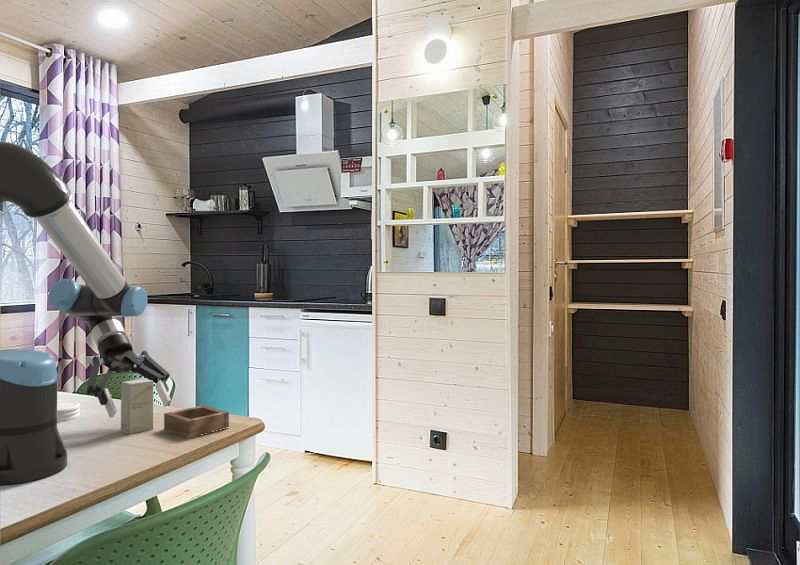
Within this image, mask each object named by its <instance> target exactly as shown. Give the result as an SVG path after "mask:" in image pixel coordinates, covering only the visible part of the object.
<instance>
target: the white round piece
mask: <svg viewBox="0 0 800 565" xmlns="http://www.w3.org/2000/svg"><path fill="white" fill-rule="evenodd" d="M80 407H81V403H79V402H77V401H71V400H70V401H57V423H60V422H59V421H64V422H67V421H66V420H69V421H71V420H70V419H73V420H75V419H74V418H76V417H78V416H79V417H80V416H81V408H80ZM79 417H78V418H79ZM76 419H77V418H76Z"/></svg>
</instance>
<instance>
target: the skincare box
mask: <svg viewBox="0 0 800 565" xmlns="http://www.w3.org/2000/svg"><path fill="white" fill-rule="evenodd" d="M120 384H121V385H120V390H121V391H120V398H121V399H120V431H121V432H124V433H126V434H129V435H130V434H136V433H140V431H141V432H145V430H146V431H150V429H151V430H153V429H154V382H153V380H149V379H147V378H140V379H133V380H126V381H120Z"/></svg>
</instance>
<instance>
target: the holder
mask: <svg viewBox="0 0 800 565" xmlns="http://www.w3.org/2000/svg"><path fill="white" fill-rule="evenodd" d="M163 415H164V416H163V420H164V421H163V424H164V425H163V430H165V431H168V432H171V433H172V434H173V433H174V434H175V433H176V434H175V435H178V434H179V436H181V435H182V436H181V437H184V436H185V437H184V438H186V437H188V438H187V439H191V438H190V437H192V438H195V437H194V436H196V437H199V436H198V435H200V436H202V435H201V434H204V435H206V434H205V433H208V434H210V433H209V432H212V431H216V430H220V429H223V428H226V427H229V428H230V426H229V425H230V421H229V420H230V418H229V417H230V413H229V412H228V411H225V410H222V409H217V408H214V407H211V406H207V405H204V404H202V405H199V406H194V407H193V406H192V407H189V408H185V409H179V410H174V411H170V412H165V413H164V414H163ZM220 431H221V430H220ZM216 432H217V431H216ZM212 433H213V432H212Z"/></svg>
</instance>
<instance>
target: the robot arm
mask: <svg viewBox="0 0 800 565" xmlns="http://www.w3.org/2000/svg"><path fill="white" fill-rule="evenodd" d="M72 196H73V194H72V192H71V190H70V189H69V187H68V185H67V184H66V183H65V182H64V180H63V179H62V178H61V176H60V175H59V174H58V173H57V172H56V171H55V170H54V169H53V168H52V167H51V166H50V165H49V164H48V163H47V162H45V161H44V160H43V159H42V158H41V157H40V156H38V155H37V154H36V153H34V152H32V151H31V150H29V149H28V148H25V147H23V146H21V145H18V144H17V143H12V142H7V141H0V216H2V215H3V214H4V203H5V202H6V203H7V202H9V203H11V204H13V205H15V206H17V207H18V208H20V210H21V212H23V214H24V215H26V217H28V218H32V219H35V220H36V221H37V222H38V224H39V225H40V226H41V227H42V229H43V231H45V234H47V235H48V237H49V238H50V239H51V240H52V242H53V243H54V244H55V246H56V247H57V248H58V249H59V250H60V252H61V254H62V255H63V256H64V257H65V258H66V260H67V261H68V262H69V264H70V265H71V267H72V268H73V269H74V270H75V272H76V273H77V274H78V275H79V277H80V278H81V280H82V281H83V282H84V284H80V283H79V282H77V281H75V280H72V279H70V278H62V279H60V280H58V281H56V282H55V283H54V284H53V285H52V286H51V287H50V289H49V292H48V301H49V303H50V305H52V306H53V307H55V308H56V309H58V311H60V312H63V313H65V314H67V315H70V316H71V317H74V318H76V319H78V320H79V321H81V322H84V323H85V324H86V325H87V327H88V329H89V331H90V334H91V336H92V338H93V341H94V343H95V346H96V348H97V351H98V353H99V356H100V358H99V357H98V356H97V355H94V356H93V357H92V359H91V361H90V362H89V364H90V369H91V370H90V374H89V378H88V384H87V387H86V394H87V395H91V394H93V396H94V397H95V398H97V399H98V402H99V404H100V405H101V406H104V407H105V409H106V412H107V414H108V417H109V418H110V419H111V418H114V416H115V415H116V413H117V411H118V410H117V407H116V405H115V403H114V400H113V398H112V395H111V393H110V391H109V388H105V387H106V385H107V383H108V381H109V380H110V377H111V376H112V374H113V373H116V374H121V373H123V372H124V373H127V372H128V373H129V372H130V371H131V372H132V373H133V374H136V373H137V374H138V375H140V376H142V377H144V379H148V380H153V384H154V383H155V385H154V387H155V388H154V389H155V390H156V392H157V394H158V396H159V398H160V401H161V402H162V405H163V407H164V408H166V407H168V405H169V404H170V402H171V401H172V399H171V397H170V395H169V386H168V384H167V381H168V380H169V378H170V376H171V374H170V372H168V371H167V370H166V369H165V368H163V367H162V366H161V365H160V364H159V363H158V362H156V361H155V359H154V358H152V357H151V356H150V355H149V354H148V351H147V350H142V351H141V353H135V351H134V350H133V345H132V344H131V341H130V339H129V337H128V335H127V332H126V330H125V328H124V326H123V324H122V321H121V320H120V317H121V318H122V317H123V318H127V317H139V316H141V315H143V313H144V312H145V310H146V308H147V306H148V295H147V292H146V290H145V289H144V288H143V287H141V286H137V285H130V284H129V283H128V281H127V280H126V279H125V277H124V276H123V274H122V273H121V271H120V270H119V268H118V266H116V264H115V263H114V261H113V259H111V257H110V255H109V254H108V252H107V251H106V249H105V248H104V247H103V246H102V244H101V243H100V241H99V240H98V239H97V237H96V235H95V234H94V233H93V231H92V230H91V229H90V226H89V225H88V223H87V222H86V221H85V220H84V218H83V217H82V215H81V214H80V212H79V211H78V210H77V208H76V206H75V205H74V203H73V202H72ZM101 365H103V366H105V367H106V368H107V371H106V372H105V374H104V376H103V378H102V380H101V381H100V383H99V384H98V385H96V383H97V379H98V376H99V369H100V367H101ZM135 365H136V366H135ZM58 379H59V374H58V370H57V362H56V358H55V356H53V355H51V354H50V353H47V352H44V351H40V350H35V349H34V350H33V349H19V348H12V349H11V348H10V349H0V485H11V484H13V485H14V484H20V483H26V482H33V481H36V480H40V479H43V478H46V477H49V476H52V475H55V474H57V473H58V472H61V471H62V470H63V469H65V468H66V467H67V465H68V452H67V450H66V447H65V446H66V445H65V444H64V442H63V440H62V437H61V434H60V431H59V429H58V422H57V402H58Z"/></svg>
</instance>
